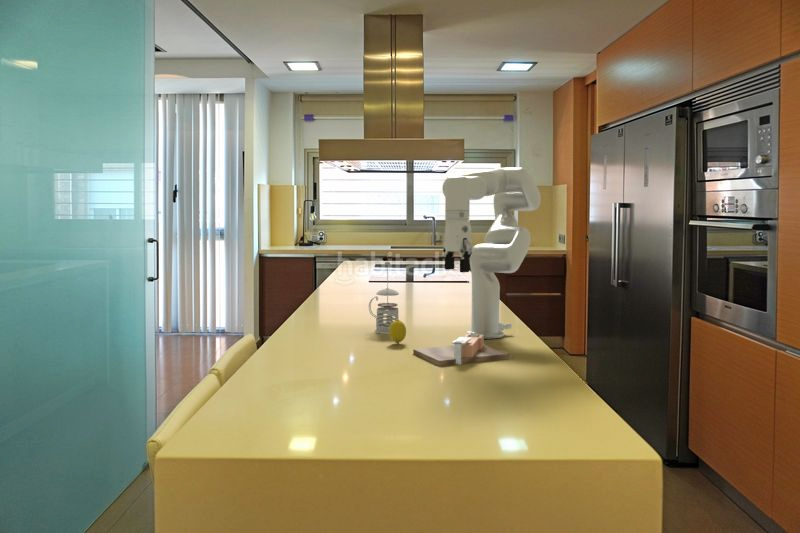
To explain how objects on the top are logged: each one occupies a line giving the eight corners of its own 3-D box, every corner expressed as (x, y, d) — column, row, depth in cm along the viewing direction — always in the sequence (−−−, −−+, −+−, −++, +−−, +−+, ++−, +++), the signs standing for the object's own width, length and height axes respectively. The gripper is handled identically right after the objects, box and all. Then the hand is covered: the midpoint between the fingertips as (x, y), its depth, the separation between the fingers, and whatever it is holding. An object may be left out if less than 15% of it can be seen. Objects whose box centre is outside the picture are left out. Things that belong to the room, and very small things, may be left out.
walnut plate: (479, 347, 217) (479, 342, 217) (509, 358, 201) (509, 353, 201) (413, 354, 207) (413, 349, 207) (439, 366, 192) (439, 360, 192)
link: (466, 345, 213) (466, 333, 213) (483, 346, 212) (483, 334, 211) (455, 356, 197) (456, 344, 197) (474, 357, 196) (474, 345, 195)
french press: (398, 334, 239) (398, 262, 236) (365, 333, 241) (365, 262, 239) (403, 329, 248) (403, 260, 246) (372, 328, 251) (372, 260, 248)
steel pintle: (474, 346, 211) (474, 331, 211) (477, 347, 209) (478, 333, 209) (468, 346, 210) (469, 332, 210) (472, 348, 209) (472, 333, 208)
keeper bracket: (459, 358, 202) (459, 336, 201) (470, 359, 201) (471, 337, 200) (451, 364, 194) (451, 342, 194) (463, 365, 193) (463, 342, 193)
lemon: (404, 345, 219) (404, 321, 219) (387, 345, 220) (387, 320, 220) (407, 342, 225) (407, 318, 224) (391, 341, 226) (391, 317, 225)
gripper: (482, 216, 208) (481, 272, 209) (454, 215, 223) (454, 267, 225) (460, 216, 205) (460, 273, 206) (433, 215, 220) (433, 268, 222)
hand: (456, 270), depth 216 cm, fingers open, 9 cm apart
